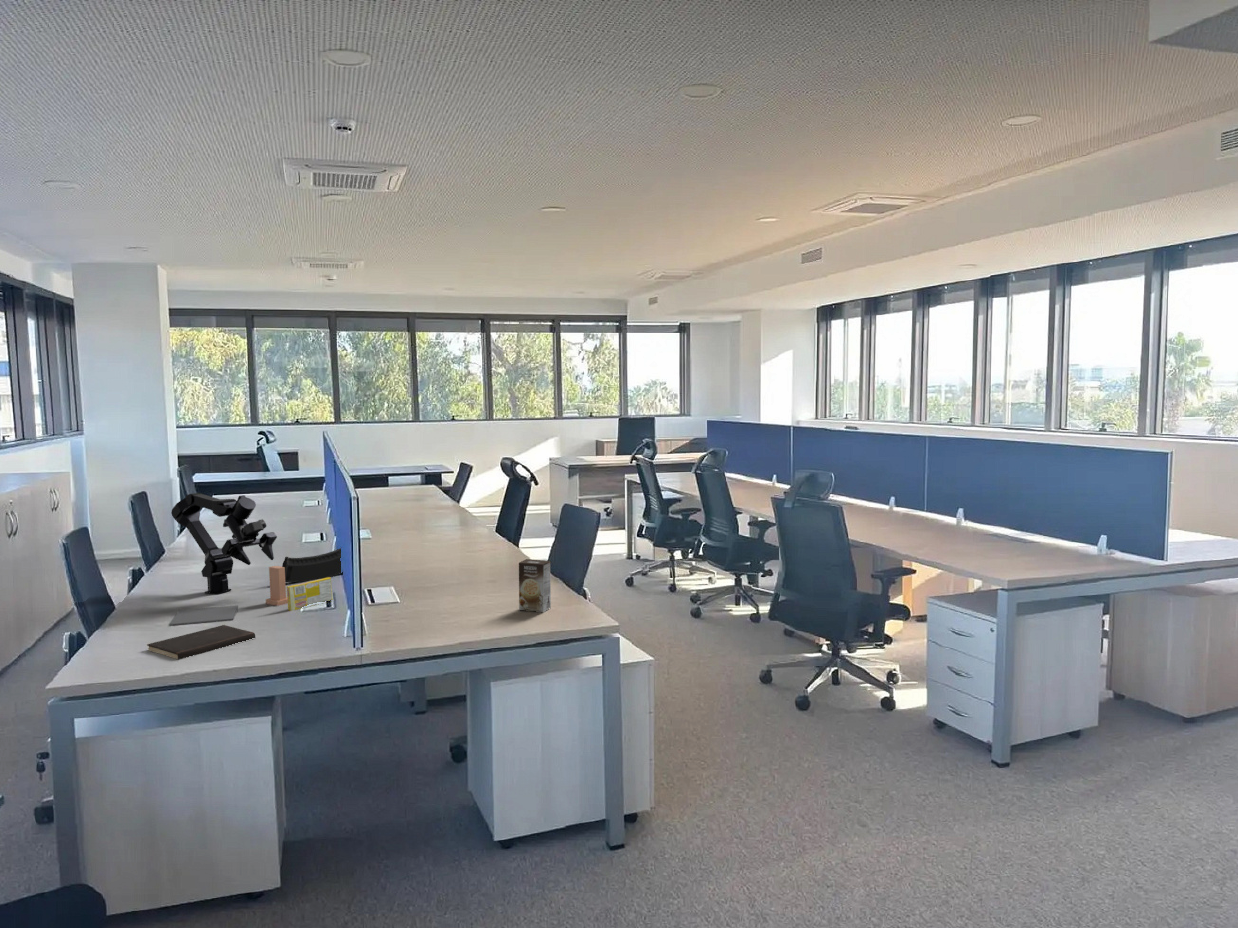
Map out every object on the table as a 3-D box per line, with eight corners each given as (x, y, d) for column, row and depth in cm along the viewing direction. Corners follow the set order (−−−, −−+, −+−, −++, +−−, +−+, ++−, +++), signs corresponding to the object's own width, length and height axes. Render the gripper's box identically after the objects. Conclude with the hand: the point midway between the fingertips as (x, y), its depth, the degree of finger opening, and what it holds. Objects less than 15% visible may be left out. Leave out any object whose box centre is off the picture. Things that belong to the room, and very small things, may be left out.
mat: (179, 611, 278) (179, 610, 278) (238, 606, 284) (238, 605, 284) (169, 625, 261) (169, 624, 261) (233, 619, 267) (233, 618, 267)
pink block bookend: (265, 603, 288) (264, 567, 287) (278, 600, 292) (277, 564, 291) (278, 605, 285) (276, 569, 284) (291, 602, 289) (289, 566, 288)
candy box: (329, 600, 292) (328, 576, 291) (333, 601, 291) (332, 577, 290) (287, 610, 279) (286, 585, 278) (291, 611, 278) (289, 586, 277)
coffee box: (518, 610, 275) (517, 562, 273) (526, 606, 281) (525, 558, 279) (543, 612, 272) (543, 564, 270) (551, 608, 278) (551, 560, 276)
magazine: (275, 563, 312) (345, 530, 332) (271, 562, 314) (340, 529, 334) (290, 604, 317) (358, 569, 337) (286, 602, 319) (353, 568, 339)
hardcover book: (147, 652, 236) (146, 644, 236) (224, 632, 255) (223, 624, 255) (178, 661, 228) (177, 653, 227) (255, 640, 247) (255, 632, 246)
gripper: (224, 516, 285) (247, 551, 280) (272, 509, 301) (294, 542, 296) (211, 537, 289) (233, 572, 285) (259, 529, 305) (280, 562, 301)
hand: (261, 561), depth 291 cm, fingers open, 9 cm apart
